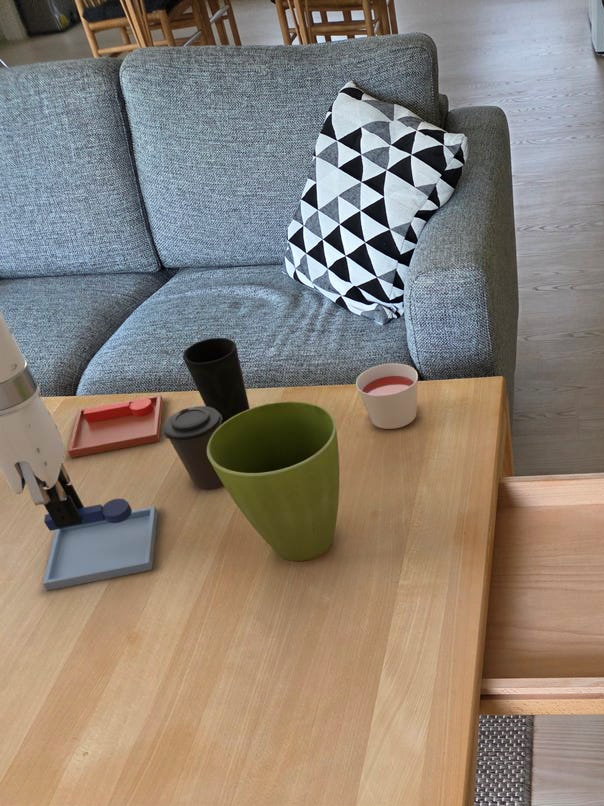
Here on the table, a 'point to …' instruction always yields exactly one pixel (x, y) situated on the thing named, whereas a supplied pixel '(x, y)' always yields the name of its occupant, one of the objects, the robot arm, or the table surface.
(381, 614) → the table surface
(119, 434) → the red tray
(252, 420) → the flower pot
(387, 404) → the candle
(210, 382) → the cup
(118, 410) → the red spoon
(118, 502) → the blue spoon
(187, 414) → the coffee cup
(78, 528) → the blue tray
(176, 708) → the table surface
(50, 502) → the robot arm
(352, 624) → the table surface
